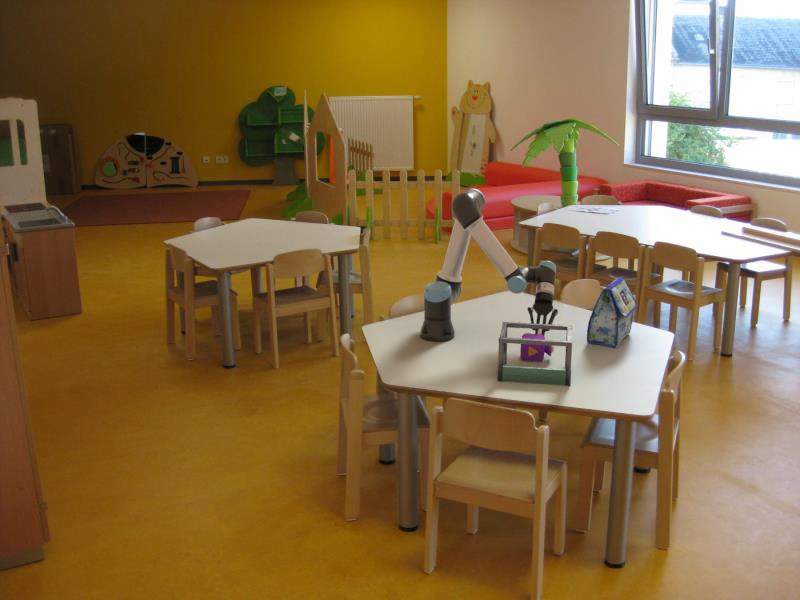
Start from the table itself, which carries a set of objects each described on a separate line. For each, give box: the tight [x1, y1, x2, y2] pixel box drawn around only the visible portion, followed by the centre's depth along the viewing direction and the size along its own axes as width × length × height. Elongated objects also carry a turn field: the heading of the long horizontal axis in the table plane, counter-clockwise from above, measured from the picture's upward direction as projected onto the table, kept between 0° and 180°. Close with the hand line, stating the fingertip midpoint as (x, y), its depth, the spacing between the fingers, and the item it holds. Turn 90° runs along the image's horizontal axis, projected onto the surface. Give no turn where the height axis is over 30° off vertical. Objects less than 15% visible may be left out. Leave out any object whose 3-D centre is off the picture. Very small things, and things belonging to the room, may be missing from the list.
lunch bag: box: [586, 276, 638, 349], centre depth 368 cm, size 22×17×26 cm
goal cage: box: [496, 321, 573, 387], centre depth 332 cm, size 28×21×17 cm
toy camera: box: [519, 332, 555, 362], centre depth 349 cm, size 11×14×10 cm
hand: (538, 344), depth 354 cm, fingers closed
